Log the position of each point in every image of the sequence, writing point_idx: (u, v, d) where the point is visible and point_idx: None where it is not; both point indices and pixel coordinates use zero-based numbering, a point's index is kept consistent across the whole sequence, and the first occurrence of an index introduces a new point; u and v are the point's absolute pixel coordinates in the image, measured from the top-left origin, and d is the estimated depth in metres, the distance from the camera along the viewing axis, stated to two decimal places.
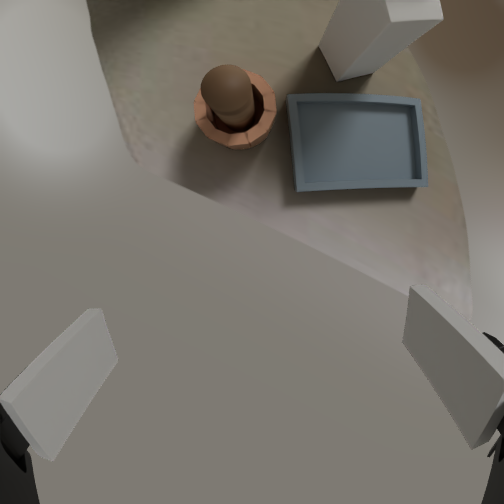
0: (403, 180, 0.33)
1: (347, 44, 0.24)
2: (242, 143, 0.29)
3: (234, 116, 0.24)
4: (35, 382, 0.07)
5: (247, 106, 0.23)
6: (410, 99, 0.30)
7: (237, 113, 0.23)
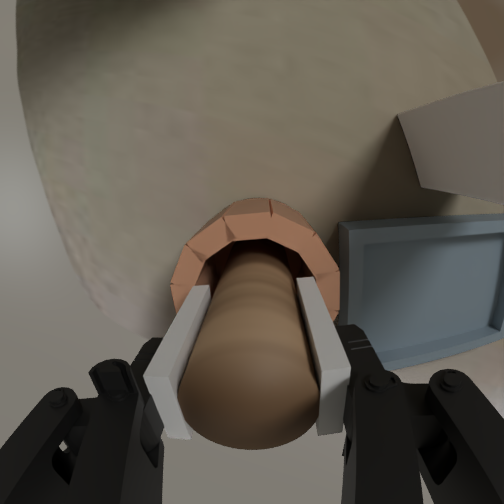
0: (480, 339, 0.20)
1: (487, 165, 0.11)
2: None
3: None
4: (181, 354, 0.08)
5: None
6: None
7: None
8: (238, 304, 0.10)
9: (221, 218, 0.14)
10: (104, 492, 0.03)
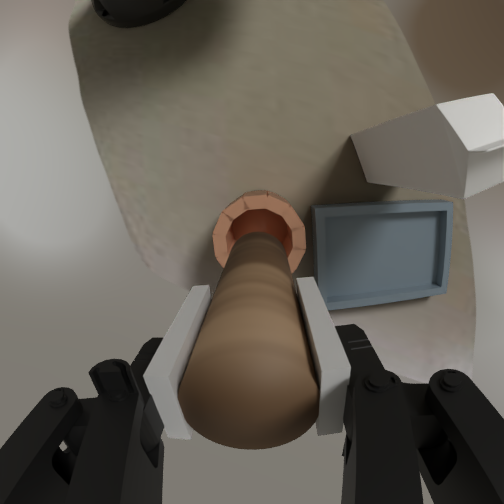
0: (423, 291, 0.33)
1: (391, 165, 0.23)
2: None
3: None
4: (181, 353, 0.08)
5: None
6: (443, 204, 0.30)
7: None
8: (238, 304, 0.10)
9: (241, 198, 0.26)
10: (104, 492, 0.03)
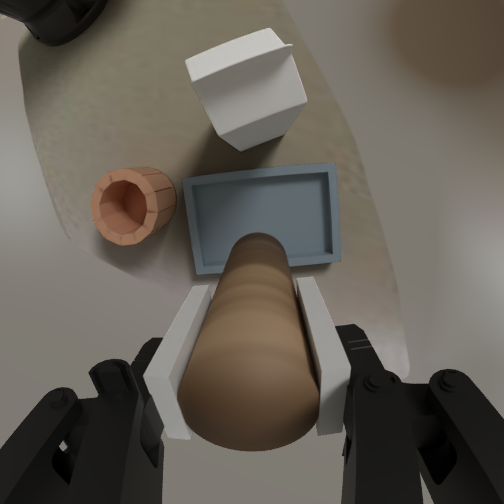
0: (309, 257, 0.36)
1: None
2: (132, 243, 0.31)
3: None
4: (181, 354, 0.08)
5: None
6: (322, 165, 0.33)
7: None
8: (238, 306, 0.10)
9: (108, 173, 0.29)
10: (104, 492, 0.03)
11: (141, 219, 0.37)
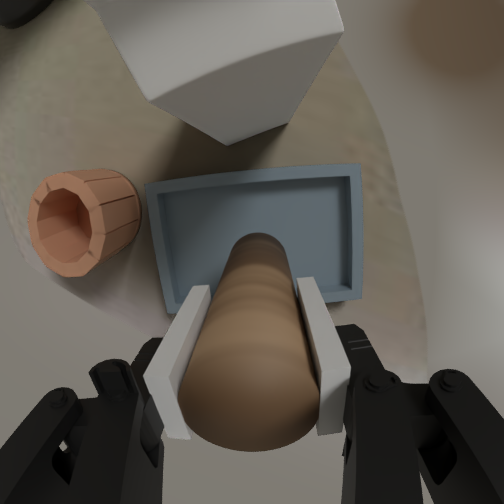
0: None
1: None
2: (77, 275, 0.21)
3: None
4: (181, 354, 0.08)
5: None
6: (342, 167, 0.23)
7: None
8: (238, 306, 0.10)
9: (44, 179, 0.19)
10: (104, 492, 0.03)
11: None
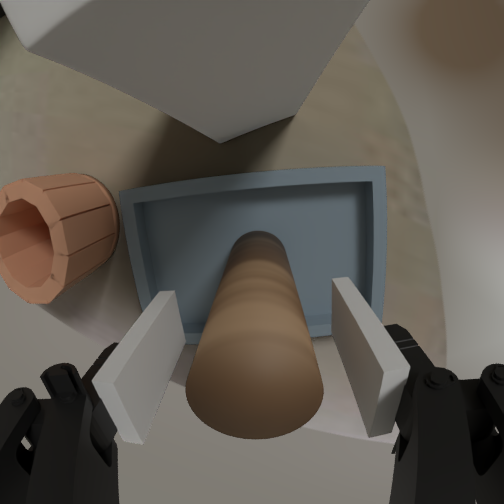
0: None
1: None
2: (42, 302, 0.16)
3: None
4: (132, 360, 0.08)
5: None
6: (363, 170, 0.18)
7: None
8: (242, 298, 0.10)
9: (3, 187, 0.14)
10: (59, 486, 0.03)
11: None
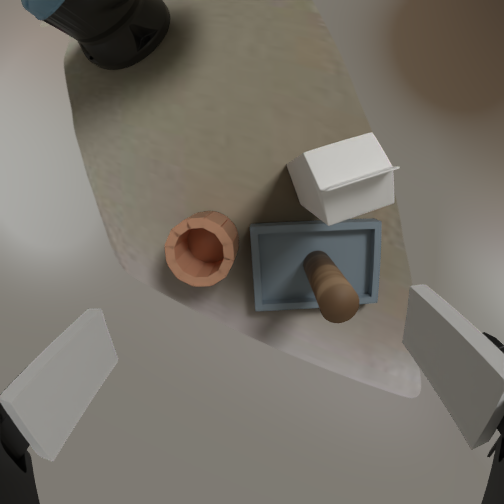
0: None
1: (303, 194, 0.32)
2: (205, 285, 0.36)
3: None
4: (35, 382, 0.07)
5: None
6: (370, 223, 0.38)
7: None
8: (332, 276, 0.30)
9: (185, 219, 0.34)
10: None
11: (205, 258, 0.42)
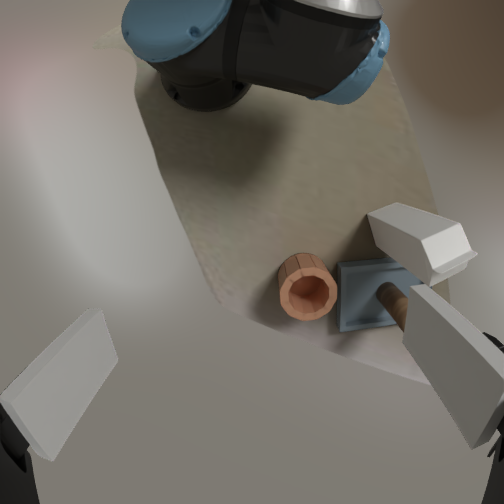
0: None
1: (393, 248, 0.39)
2: (312, 319, 0.44)
3: None
4: (35, 382, 0.07)
5: None
6: None
7: None
8: None
9: (299, 269, 0.41)
10: None
11: (299, 292, 0.49)
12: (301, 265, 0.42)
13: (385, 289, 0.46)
